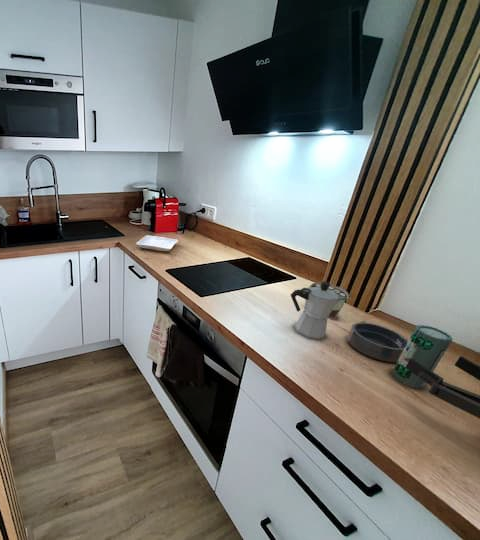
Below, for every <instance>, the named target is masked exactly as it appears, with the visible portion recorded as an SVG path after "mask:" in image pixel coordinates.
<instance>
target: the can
mask: <svg viewBox="0 0 480 540" xmlns="http://www.w3.org/2000/svg"><path fill="white" fill-rule="evenodd" d="M452 341H453V337H452V335H450V334H449V333H448V332H446V331H444V330H442V329H438V327H434V326H429V325H424V324H420V325H419V324H418V325H416V326H415V327H414V329H413V331H412V333H411V335H410V336H409V339H408V342H407V344H406V346H405V348H404V350H403V352H402V354H401V356H400V358H399V359H398V361H397V362H395V365H394V367H393V369H392V371H391V375H392V377H394V379H395V380H396V381H398V382H399V383H401V384H403V385H405V386H407V387H410V388H412V389H414V388H415V389H423V388H424V387H426V384H427V383H426V382H424V381H423V380H421V379H420V378H419V377H418V376H416V375H415V374H413V373H412V372H411V371H409V370H408V369H406V368H405V367H406V366H407V364H408V362H409V360H410V359H414V360H415V361H417V362H418V363H420V364H421V365H423V366H425V367H426V368H428V369H429V370H431V371H432V372H434V371H435V369H436V368H437V366H438V365H439V363H440V361H441V360H442V359H443V356H444V355H445V353H446V351H447V349H448V348H449V346H450V345H451V343H452Z"/></svg>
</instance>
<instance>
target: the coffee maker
mask: <svg viewBox="0 0 480 540" xmlns="http://www.w3.org/2000/svg"><path fill="white" fill-rule="evenodd" d="M321 283H322V286H321V288H319V287H310V286H309V287H302V288H301V289H294V291H292V293H291V294H290V297H291V300H292V302H293V304H294V307H295V309H296V312H300V311H301V307H300V305H299V303H298V300H297V296H298V297H300V298H301V299H304V300H305V303H304V310H303V311H302V313H301V314H300V316H299V317H298V319H297V321H296V322H295V325H294V329H295V331H296V332H297V333H298V334H299V335H302V336H303V337H305V338H307V339H312V340H319V341H320V340H322V339H323V338H326V334H327V333H326V332H327V327H328V319H329V317H327V316H329V315H330V313H331V311H332V310H333V308H334V306H335V305H336V304H337V303H338V302H339V301H341V300H342V299H344V298H345V297H342V296H340V295H338V294H336V293H334V292H332V291H331V290H328V288H329V286H330V285H331V283H330V282H328V281H321Z"/></svg>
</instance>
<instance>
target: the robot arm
mask: <svg viewBox="0 0 480 540" xmlns="http://www.w3.org/2000/svg"><path fill="white" fill-rule="evenodd" d="M454 367H457V368H458V369H460V370H461V371H463V372H465V373H466V374H468V375H470V376H472V377H473V378H474V379H476V380H478V381H480V365H478V364H477V363H475V362H473V361H471V360H470V359H468V358H466V357H464V356H459V357H458V359H457V360H456V362H455V363H454ZM405 368H406V369H408V370H409V371H411V372H412V373H413V374H415V375H416V376H418V377H419V378H420V379H421V380H423V381H424V382H426V384H427V385H428V386H430V388H429V390H428V394H429V395H432V396H433V397H435V398H437V399H440V400H442V401H443V402H446V403H447V404H449V405H452V406H453V407H455V408H457V409H459V410H461V411H464V412H466V413H468V414H469V415H472V416H473V417H476V418H477V419H479V420H480V394H477V393H475V392H472V391H469V390H467V389H464V388H462V387H459V386H456V385H454V384H451V383H448V382H446V381H444V378H443V377H441V376H440V375H438V374H437V373H435V372H434V371H433V372H432V371H431V370H429V369H428V368H426V367H425V366H423V365H421V364H420V363H418V362H417V361H415V360H414V359H410V360H409V362H408V364H407V366H406V367H405Z"/></svg>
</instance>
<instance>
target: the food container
mask: <svg viewBox="0 0 480 540" xmlns="http://www.w3.org/2000/svg"><path fill="white" fill-rule="evenodd" d="M321 286H322V282H313V283H311V284H310V285H309V287H319V288H321ZM328 290H331V291H332V292H334V293H336V294H338V295H340V296H342V297H345V298H344V299H342V300H341V301H339V302H338V303H337V304H336V305H335V306H334V308H333V310H332V311H331V313H330V315H329V316H327V318H328V319H332V320H334V321H335V320H336V319H337V317H338V315H339V313H340V312H341V311H342V308H343V306H344V304H345V303H347V302H349V297H350V296H349V292H348V291H346V290H345V289H343V288H341V287H339V286H336V285H334V284H330V286H329V288H328Z"/></svg>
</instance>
